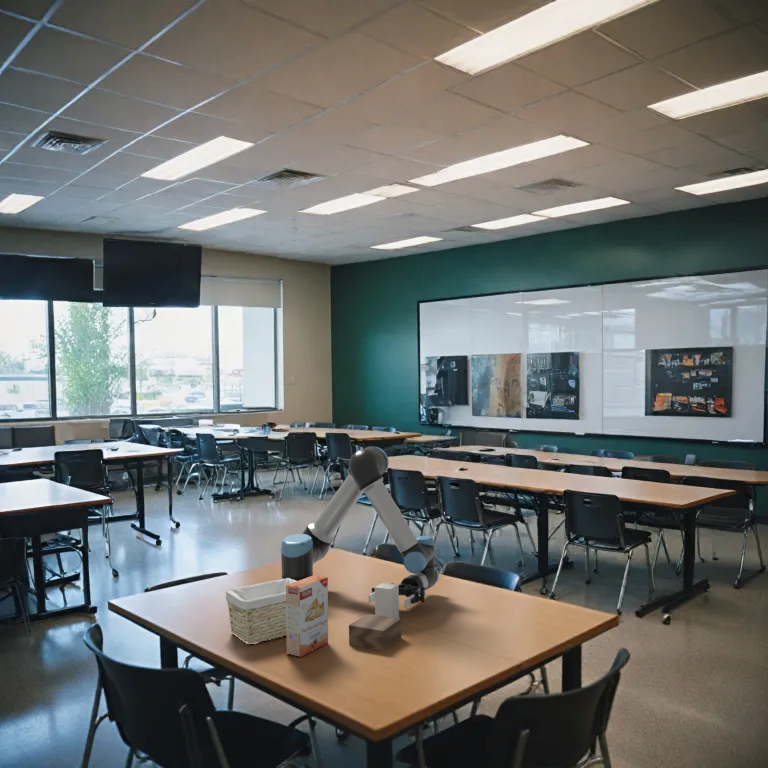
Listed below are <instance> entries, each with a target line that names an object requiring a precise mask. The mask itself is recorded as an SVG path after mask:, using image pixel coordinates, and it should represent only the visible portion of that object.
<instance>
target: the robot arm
mask: <svg viewBox="0 0 768 768" xmlns="http://www.w3.org/2000/svg"><path fill="white" fill-rule="evenodd" d="M348 462H349V463H348V468H347V474H348V475H347V476H346V478H345V480H344V481H343V482H342V484H341V485H340V487H339V488H338V490H336V492H335V494H334V495H333V496H332V497H331V499H330V501H329V502H328V503H327V505H326V506H325V507H324V509H323V511H322V512H321V513H320V514H319V516H318V518H317V519H316V520H315V522H310V523H309V524H308V525H307V526H306V527H305V529H304V530H303V532H302V533H295V534H291V535H288V536H286V537H284V538H283V539H282V541H281V546H280V555H281V558H280V559H281V560H280V561H281V579H285V578H290V579H292V580H295V581H299V580H302V579H305V578H307V577H310V576H313V575H314V564H315V563H317V562H319V561H320V560H322V559H323V558H324V557H325V556H326V555H327V554H328V552H329V550H330V546H331V545H332V543H334V537H333V536H334V534H335V533H336V531H337V530H338V528H339V527H340V526H341V524H342V523H343V522H344V520H345V519H346V517H348V515H349V513H350V511H351V510H353V508H354V506H355V504H356V503H357V502H358V501H359V500H360V498H361V496H362V495H363V494H365V496H366V497H367V499H368V500H369V503H370V504H371V506H372V508H373V509H374V511H375V512H376V514H377V516H378V517H379V519H380V521H381V522H382V524H383V526H384V528H385V529H386V530H387V533H388V534H389V536H390V538H391V539H392V541H393V543H394V544H395V546H396V548H397V550H398V551H399V553H400V555H401V556H402V558H403V566H404V569H405V570H406V571H407V572H408V573H411V574H409V575H408V576H406V577H405V578H403V579H402V581H401V582H400V583H399V584H397V585H398V588H399V596H401V597H402V596H405V597H406V598H405V599H404V601H403V603H404V606H403V607H404V608H405V609H408V608H409V607H411V606H412V605H414V604H417V603H419V602H420V603H422V604H424V603H425V595H426V591H427V590H428V589H430V588H432V587H434V586H435V585H436V584H437V582H438V581H439V578H440V574H439V571H438V569H437V568H436V566H435V565H436V564H435V539H434V537H432V536H429V535H418V536H415V534H414V533H413V530H412V529H411V527H410V525H409V524H408V522H407V521H406V518H405V517H404V516H403V514H402V512H401V510H400V509H399V508H398V506H397V504H396V502H395V501H394V499H393V497H392V495H391V494H390V492H389V490H388V489H387V487H386V486H385V484H384V482H383V481H384V477H383V474H385V473H386V471H387V470H388V467H389V462H390V461H389V457H388V455H387V453H386V451H385V450H383V449H382V448H380V447H378V446H367V447H365V448H363V449H359V450H357V451H355V452H354V453H353V454H352V455H351V457H350V459H349V461H348ZM390 584H395V583H393V582H391V583H390ZM373 602H375V587H372V588H371V593H370V594H368V603H369V604H372V603H373Z"/></svg>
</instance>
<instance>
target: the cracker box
mask: <svg viewBox="0 0 768 768" xmlns="http://www.w3.org/2000/svg"><path fill="white" fill-rule="evenodd" d="M328 580H329V577H327V576H322V575H317V574H313V576H310V577H307V578H305V579H302V580H299V581H297V582H294V583H291V584H289V585H286V637H285V638H286V641H285V642H286V644H285V645H286V646H285V647H286V648H285V649H286V653H288V654H291V655H290V656H292V655H295V656H294V657H296V656H299V657H298V658H300V657H301V656H302V657H304V656H306V655H308V654H310V653H312V652H313V651H312V650H314V651H316V650H317V648H318V647H320V648H322V647H323V645H324V644H326V643H327V644H328V643H329V596H328V595H329V591H328V590H329V581H328ZM327 644H326V645H327ZM321 646H322V647H321ZM324 646H325V645H324ZM315 649H316V650H315ZM318 649H319V648H318ZM311 651H312V652H311ZM309 652H310V653H309ZM307 653H308V654H307ZM288 654H287V655H288ZM305 654H306V655H305ZM303 655H304V656H303ZM302 657H301V658H302Z"/></svg>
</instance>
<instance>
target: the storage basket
mask: <svg viewBox="0 0 768 768" xmlns="http://www.w3.org/2000/svg"><path fill="white" fill-rule="evenodd" d="M294 582H297V581H295V580H292V579H290V578H285V579H282V578H281V579H277V580H270V581H267V582H260V583H256V584H251V585H245V586H239V587H234V588H228V589H227V590H226V591H225V596H226V597H225V601H226V602H227V607H228V616H229V623H230V632H232V633H234V634H236V635H237V636H238V637H240V638H241V639H243V640H244V641H248V643H249V644H250V643H255V642H261V641H266V640H269V639H273V640H276V639H277V638H278V639H279V637H281V638H284V637H283V636H286V585H289V584H291V583H294ZM232 633H231V634H232ZM275 638H276V639H275ZM266 642H267V641H266ZM261 643H262V642H261Z"/></svg>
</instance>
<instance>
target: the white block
mask: <svg viewBox="0 0 768 768" xmlns="http://www.w3.org/2000/svg"><path fill="white" fill-rule="evenodd" d="M398 585H399V584H396V583H394V584H391V583H389V582H388V583H387V582H382V583H380V584H377V585H376V586H374V588H375V601H374V615H379V616H385V617H392V618H398V619H400V600H399V599H400V598H399V597H400V595H399V588H398Z"/></svg>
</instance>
